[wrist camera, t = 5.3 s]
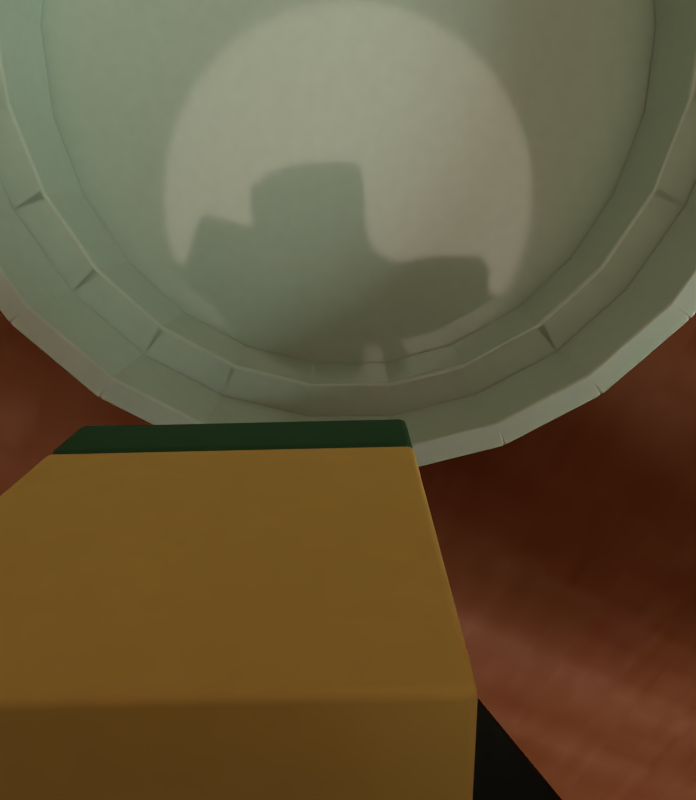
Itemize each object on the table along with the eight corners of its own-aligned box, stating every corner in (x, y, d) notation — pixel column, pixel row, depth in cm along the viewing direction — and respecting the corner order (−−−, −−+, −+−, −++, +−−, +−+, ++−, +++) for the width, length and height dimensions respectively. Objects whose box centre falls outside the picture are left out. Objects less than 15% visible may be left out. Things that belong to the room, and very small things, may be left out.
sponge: (406, 416, 8) (481, 691, 4) (404, 798, 11) (450, 1279, 6) (80, 424, 9) (-256, 705, 4) (144, 803, 11) (-19, 1288, 6)
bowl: (765, -397, 13) (997, -727, 9) (646, 402, 19) (745, 469, 14) (-74, -390, 13) (-305, -714, 9) (54, 405, 19) (-44, 474, 14)
